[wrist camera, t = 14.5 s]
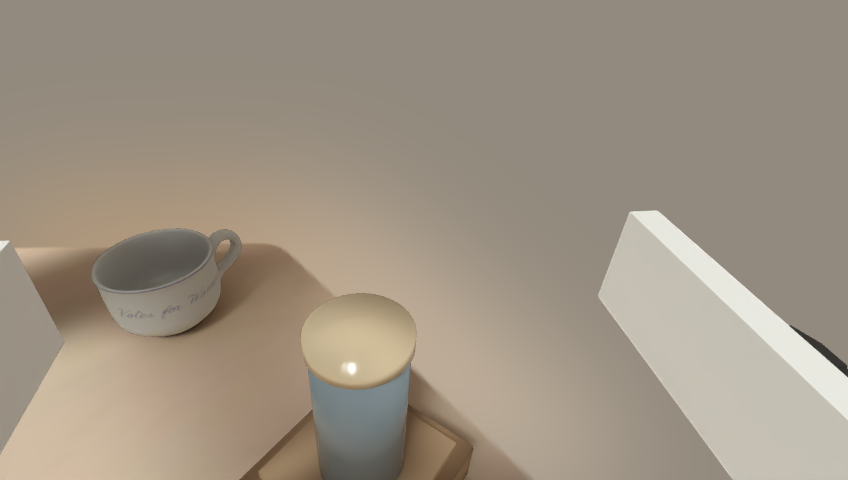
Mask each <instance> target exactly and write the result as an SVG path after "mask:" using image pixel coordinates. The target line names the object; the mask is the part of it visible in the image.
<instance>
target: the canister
mask: <svg viewBox="0 0 848 480" xmlns="http://www.w3.org/2000/svg"><path fill="white" fill-rule="evenodd" d="M301 345H302V353H303V358H304V361H305V363H306V366H307V367H308V373H309V382H310V391H311V400H312V409H313V418H314V427H315V436H316V445H317V453H318V462H319V470H320V474H321V477H322V479H323V480H397V479H398V477H399V475H400V473H401V470H402V467H403V461H404V447H405V434H406V420H407V407H408V393H409V379H410V366H411V361H412V358H413V356H414V352H415V345H416V326H415V323H414V320H413V318H412V316H411V315H410V314H409V312H408V311H407V310H406V309H405V308H404V307H403V306H401V305H400V304H398V303H397V302H395V301H393V300H391V299H389V298H386V297H383V296H379V295H375V294H366V293H361V294H359V293H356V294H348V295H343V296H339V297H336V298H334V299H331V300H329V301H327V302H325V303H323V304H322V305H320V306H319V307H317V308H316V309H315V310H314V311H313V312H312V313H311V314H310V315H309V316H308V318H307V319H306V321H305V323H304V325H303V327H302V331H301Z"/></svg>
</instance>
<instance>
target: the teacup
mask: <svg viewBox="0 0 848 480" xmlns="http://www.w3.org/2000/svg"><path fill="white" fill-rule="evenodd" d="M226 239H229V240H230V243H231V245H230V249H229V251H228V252H227V254H226V255H225V256H224V258H223V259H222V260H221V261H220V262H219V263H218V264H216V261H215V258H214V257H215V253H216V248H217V246H218V244H219V243H220V242H221V241H223V240H226ZM241 247H242V244H241V240H240V238H239V237H238V235H237V234H236V233H234V232H233V231H231V230H227V229H222V230H218V231H216V232H214V233H213V234H212V235H211V236H210V237H209V238H208V237H206V236H205V235H203V234H202V233H199V232H197V231H193V230H189V229H180V228H176V229H162V230H155V231H150V232H146V233H142V234H139V235H136V236H133V237H130V238H128V239H125V240H123V241H121V242H119V243H117V244H116V245H114V246H112V247H111V248H109V249H107V250H106V251H105V252H104V253H102V254H101V255H100V256H99V257H98V258H97V260H96V261H95V262H94V264H93V266H92V269H91V279H92V281H93V283H94V285H95V286H96V287H97V288H98V290H99V292H100V295H101V297H102V299H103V301H104V303H105V305H106V307H107V309H108V310H109V312H110V314H111V316H112V317H113V319H114V320H115V321H116V322H117V324H118V325H119V326H120V327H122V328H123V329H125V330H126V331H128V332H130V333H133V334H136V335H141V336H151V337H154V336H170V335H174V334H178V333H181V332H184V331H186V330H188V329H190V328H192V327H194V326H195V325H197V324H198V323H199V322H200V321H202V320H203V319H204V318H205V317H206V316H207V315H208V314H209V313H210V312H211V311H212V310H213V309H214V307H215V306H216V304H217V302H218V300H219V297H220V293H221V282H220V280H221V279H222V276H223V274H224V273H225V272H226V270H227V269H228V268H229V267H230V266H231V265H232V264H233V263H234V262H235V260H236V259H237V257H238V256H239V254H240V252H241Z"/></svg>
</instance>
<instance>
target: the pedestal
mask: <svg viewBox="0 0 848 480" xmlns="http://www.w3.org/2000/svg"><path fill="white" fill-rule="evenodd" d="M472 450H473V446H472V445H471V444H469V443H468V442H466V441H464V440H463V439H461V438H460V437H458V436H457V435H455V434H453V433H452V432H450V431H449V430H447V429H446V428H444V427H442V426H441V425H439V424H438V423H436V422H435V421H433V420H431V419H430V418H428V417H427V416H425V415H424V414H422V413H420V412H419V411H417V410H416V409H414V408H413V407H411V406H409V405H408V407H407V420H406V434H405V447H404V461H403V467H402V470H401V473H400V475H399V477H398V479H397V480H464V478H465V476H466V475H467V472H468V468H469V463H470V459H471V455H472ZM240 480H323V479H322V477H321V474H320V470H319V462H318V453H317V445H316V436H315V427H314V418H313V409H312V410H311V411H310V412H309V413H308V414H307V415H306V416H305V417H304V418H303V419H302V420H301V421H300V422H299V423H298V424H297V425H296V426H295V427H294V428H293V429H292V430H291V431H290V432H289V433H288V434H287V435H285V436H284V437H283V438H282V439H281V440H280V441H279V442H278V443H277V444H276V445H275V446H274V447H273V448H272V449H271V450H270V451H269V452H268V453H267V454H266V455H265V456H264V457H263V458H262V459H261V460H260V461H259V462H257V463H256V464H255V465H254V466H253V467H252V468H251V469H250V470H249V471H248V472H247V473H246V474H245V475H244V476H243V477H242V478H241V479H240Z"/></svg>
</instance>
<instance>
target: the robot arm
mask: <svg viewBox="0 0 848 480" xmlns="http://www.w3.org/2000/svg"><path fill="white" fill-rule="evenodd" d="M598 297H599V299H600V300H601V301H602V303H603V304H604V305H605V307H606V308H607V309H608V311H609V312H610V314H611V315H612V316H613V318H614V319H615V320H616V322H617V323H618V324H619V326H620V327H621V328H622V330H623V331H624V333H625V334H626V335H627V336H628V338H629V339H630V341H631V342H632V343H633V345H634V346H635V348H636V349H637V350H638V352H639V353H640V354H641V356H642V357H643V358H644V360H645V361H646V362H647V364H648V365H649V367H650V368H651V369H652V370H653V372H654V373H655V375H656V376H657V377H658V379H659V380H660V382H662V384H663V385H664V387H665V388H666V390H667V391H668V392H669V394H670V395H671V396H672V398H673V399H674V400H675V402H676V403H677V405H678V406H679V407H680V409H681V410H682V411H683V413H684V414H685V415H686V417H687V418H688V420H689V421H690V422H691V423H692V425H693V426H694V428H695V429H696V430H697V432H698V433H699V435H700V436H701V437H702V439H703V440H704V441H705V443H706V444H707V445H708V447H709V448H710V450H711V451H712V452H713V454H714V455H715V456H716V458H717V459H718V460H719V462H720V463H721V464H722V466H723V467H724V469H725V470H726V471H727V473H728V474H729V475H730V477H731V478H732V479H733V480H848V369H847V365H846V364H845V363H843V362H842V361H841V360H840V359H839V358H838V357H837V356H835V355H834V354H833V353H832V352H831V351H830V350H828V349H827V348H826V347H825V346H824V345H822V344H821V343H820V342H818V341H816V340H815V339H813V338H811V337H809V336H808V335H806V334H804V333H803V332H801V331H799V330H798V329H796V328H794V327H793V326H791V325H790V326H789V325H787V324H786V323H785V322H784V321H783V320H782V319H781V318H779V317H778V316H777V315H776V314H775V313H774V312H773V311H771V310H770V309H769V308H768V307H767V306H766V305H765V304H763V303H762V302H761V301H760V300H759V299H758V298H757V297H755V296H754V295H753V294H752V293H751V292H749V290H747V289H746V288H745V287H744V286H743V285H742V284H741V283H739V282H738V281H737V280H736V279H735V278H734V277H733V276H732V275H730V274H729V273H728V272H727V271H726V270H725V269H724V268H722V267H721V266H720V265H719V264H718V263H717V262H716V261H714V260H713V259H712V258H711V257H710V256H709V255H708V254H706V253H705V252H704V251H703V250H702V249H701V248H700V247H698V246H697V245H696V244H695V243H694V242H693V241H692V240H690V239H689V238H688V237H687V236H686V235H685V234H684V233H682V232H681V231H680V230H679V229H678V228H677V227H676V226H674V225H673V224H672V223H671V222H670V221H669V220H668V219H666V218H665V217H664V216H663V215H662V214H661V213H660V212H658V211H636V212H630V213H629V215H628V218H627V221H626V223H625V226H624V228H623V231H622V234H621V236H620V239H619V242H618V244H617V247H616V250H615V252H614V255H613V258H612V260H611V263H610V266H609V268H608V271H607V274H606V276H605V279H604V281H603V284H602V287H601V290H600V292H599V295H598ZM63 344H64V340H63V338H62V336H61V334H60V333H59V331H58V329H57V327H56V325H55V323H54V321H53V320H52V318H51V316H50V314H49V312H48V310H47V308H46V307H45V305H44V303H43V301H42V299H41V297H40V295H39V294H38V292H37V290H36V288H35V286H34V284H33V282H32V281H31V279H30V277H29V275H28V273H27V271H26V269H25V268H24V266H23V264H22V262H21V260H20V258H19V256H18V255H17V253H16V251H15V249H14V247H13V245H12V244H11V241H0V454H1V452H2V450H3V449H4V447H5V445H6V443H7V442H8V440H9V438H10V436H11V435H12V433H13V431H14V429H15V428H16V426H17V424H18V422H19V421H20V419H21V417H22V415H23V414H24V412H25V410H26V408H27V407H28V405H29V403H30V401H31V400H32V398H33V396H34V394H35V393H36V391H37V389H38V387H39V386H40V384H41V382H42V380H43V379H44V377H45V375H46V373H47V372H48V370H49V368H50V367H51V365H52V363H53V361H54V360H55V358H56V356H57V354H58V353H59V351H60V349H61V347H62V346H63Z"/></svg>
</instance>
